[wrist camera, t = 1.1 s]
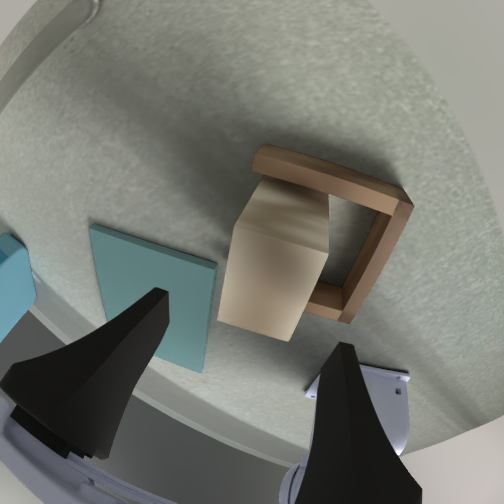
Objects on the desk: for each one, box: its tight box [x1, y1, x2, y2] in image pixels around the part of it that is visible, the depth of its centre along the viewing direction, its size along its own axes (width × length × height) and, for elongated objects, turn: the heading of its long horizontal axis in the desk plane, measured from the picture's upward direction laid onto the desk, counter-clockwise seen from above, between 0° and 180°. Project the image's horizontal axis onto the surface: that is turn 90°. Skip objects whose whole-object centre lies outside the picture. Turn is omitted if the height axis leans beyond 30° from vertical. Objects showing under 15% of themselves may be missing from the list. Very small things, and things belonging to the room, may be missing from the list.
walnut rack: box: [251, 144, 414, 324], centre depth 18 cm, size 9×10×2 cm
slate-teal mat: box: [89, 224, 218, 373], centre depth 27 cm, size 12×16×1 cm
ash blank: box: [217, 175, 329, 342], centre depth 16 cm, size 4×6×7 cm, turn 169°
